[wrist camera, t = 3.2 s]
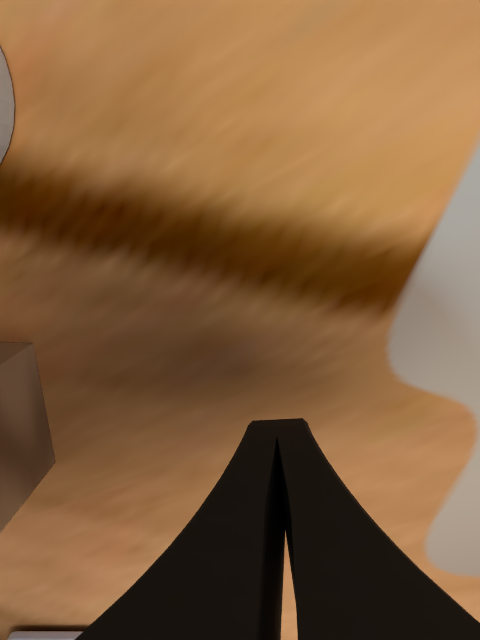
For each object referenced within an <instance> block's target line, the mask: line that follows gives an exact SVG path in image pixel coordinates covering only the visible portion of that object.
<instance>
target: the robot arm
mask: <svg viewBox="0 0 480 640" xmlns="http://www.w3.org/2000/svg"><path fill="white" fill-rule="evenodd" d="M285 530H286V537H287V544H288V551H289V558H290V565H291V572H292V579H293V586H294V593H295V600H296V610H297V629H298V640H480V623H479V622H478V621H477V620H476V619H474V618H473V617H472V616H471V615H470V614H469V613H468V612H467V611H466V610H465V609H463V608H462V607H461V606H460V605H459V604H458V603H457V602H456V601H455V600H453V599H452V598H451V597H450V596H449V595H448V594H447V593H446V592H445V591H443V590H442V589H441V588H440V587H439V586H438V585H437V584H436V583H435V582H433V581H432V580H431V579H430V578H429V577H428V576H427V575H426V574H425V573H424V572H422V571H421V570H420V569H419V568H418V567H417V566H416V565H415V564H414V563H413V562H412V561H411V560H410V559H409V558H408V557H407V556H406V555H405V554H404V553H403V552H402V551H401V550H400V549H399V548H398V547H397V546H396V545H395V543H394V542H393V541H392V540H391V539H390V538H389V537H388V536H387V535H386V534H385V533H384V532H383V531H382V529H381V528H380V527H379V526H378V525H377V524H376V523H375V522H374V520H373V519H372V518H371V517H370V516H369V515H368V513H367V512H366V511H365V510H364V509H363V508H362V506H361V505H360V504H359V503H358V501H357V500H356V499H355V498H354V496H353V495H352V494H351V492H350V491H349V490H348V489H347V487H346V486H345V485H344V483H343V482H342V481H341V479H340V478H339V476H338V475H337V473H336V472H335V470H334V469H333V468H332V466H331V465H330V463H329V462H328V460H327V459H326V457H325V456H324V454H323V452H322V451H321V449H320V447H319V446H318V444H317V442H316V440H315V439H314V437H313V435H312V433H311V431H310V428H309V426H308V423H307V422H306V421H305V420H304V419H303V418H299V419H279V420H259V421H252V422H251V423H250V424H249V425H248V427H247V430H246V432H245V434H244V436H243V438H242V441H241V443H240V444H239V446H238V448H237V450H236V452H235V454H234V456H233V457H232V459H231V461H230V462H229V464H228V466H227V468H226V469H225V471H224V473H223V474H222V476H221V478H220V479H219V481H218V482H217V484H216V485H215V487H214V488H213V490H212V491H211V492H210V494H209V495H208V497H207V498H206V500H205V501H204V503H203V504H202V505H201V507H200V508H199V510H198V511H197V512H196V514H195V515H194V516H193V518H192V519H191V520H190V522H189V523H188V524H187V525H186V527H185V528H184V529H183V530H182V532H181V533H180V534H179V535H178V536H177V538H176V539H175V540H174V541H173V542H172V544H171V545H170V546H169V547H168V548H167V549H166V550H165V551H164V553H163V554H162V555H161V556H160V557H159V558H158V559H157V560H156V561H155V562H154V563H153V565H152V566H151V567H150V568H149V569H148V570H147V571H146V572H145V573H144V574H143V575H142V576H141V577H140V578H139V579H138V580H137V581H136V583H135V584H134V585H133V586H132V587H131V588H130V589H129V590H128V591H127V592H126V593H124V594H123V595H122V596H121V597H120V598H119V599H118V600H117V601H116V602H115V603H114V604H113V605H112V606H110V607H109V608H108V609H107V610H106V611H105V612H104V613H103V614H102V615H101V616H100V617H99V618H97V619H96V620H95V621H94V622H93V623H92V624H91V625H90V626H89V627H88V628H87V629H86V630H85V631H16V632H13V633H11V634H10V635H9V637H8V639H7V640H281V614H282V592H283V570H284V548H285Z"/></svg>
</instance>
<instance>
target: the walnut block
mask: <svg viewBox="0 0 480 640" xmlns="http://www.w3.org/2000/svg"><path fill="white" fill-rule="evenodd" d="M54 463H55V457H54V452H53V446H52V441H51V436H50V430H49V425H48V419H47V414H46V409H45V403H44V398H43V393H42V387H41V382H40V376H39V371H38V366H37V360H36V355H35V350H34V344H33V343H15V342H0V532H1V531H2V530H3V529H4V528H5V526H6V525H7V524H8V522H9V521H10V520H11V519H12V517H13V516H14V515H15V513H16V512H17V511H18V510H19V508H20V507H21V506H22V504H23V503H24V502H25V501H26V499H27V498H28V497H29V496H30V494H31V493H32V492H33V490H34V489H35V488H36V487H37V485H38V484H39V483H40V481H41V480H42V479H43V478H44V476H45V475H46V474H47V472H48V471H49V470H50V469H51V467H52V466H53V465H54Z"/></svg>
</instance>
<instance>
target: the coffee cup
mask: <svg viewBox="0 0 480 640" xmlns="http://www.w3.org/2000/svg"><path fill="white" fill-rule="evenodd" d="M14 107H15V103H14V96H13V88H12V81H11V77H10V74H9V70H8V67H7V63H6V60H5V57H4V55H3V53H2V50H1V48H0V163H1V161H2V159H3V157H4V155H5V153H6V151H7V149H8V147H9V143H10V139H11V135H12V131H13V127H14Z"/></svg>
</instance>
